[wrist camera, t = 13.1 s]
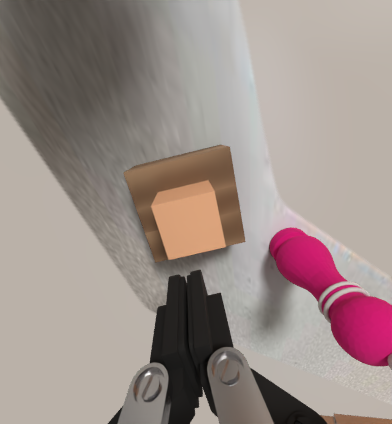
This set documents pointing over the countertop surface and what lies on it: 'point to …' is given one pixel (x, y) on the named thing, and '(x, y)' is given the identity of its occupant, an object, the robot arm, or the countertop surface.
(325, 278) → the pepper mill
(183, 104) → the countertop surface
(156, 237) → the post block
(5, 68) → the countertop surface
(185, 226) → the cardboard-colored cube
